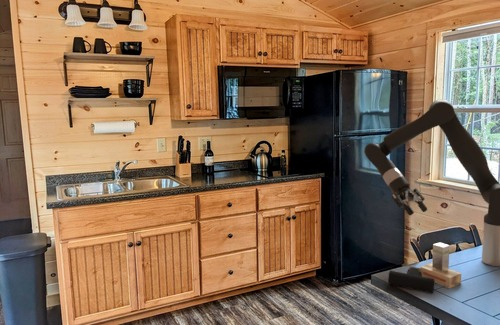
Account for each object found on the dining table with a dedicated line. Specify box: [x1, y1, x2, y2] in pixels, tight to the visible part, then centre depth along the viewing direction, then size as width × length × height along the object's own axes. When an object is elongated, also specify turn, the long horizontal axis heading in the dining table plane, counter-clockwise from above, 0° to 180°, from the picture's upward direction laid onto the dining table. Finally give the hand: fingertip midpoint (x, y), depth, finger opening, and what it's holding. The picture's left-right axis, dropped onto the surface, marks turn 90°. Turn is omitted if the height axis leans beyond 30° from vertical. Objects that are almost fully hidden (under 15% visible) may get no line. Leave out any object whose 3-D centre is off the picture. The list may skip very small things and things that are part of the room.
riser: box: [420, 262, 462, 289], centre depth 145 cm, size 7×12×4 cm, turn 29°
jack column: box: [431, 242, 450, 273], centre depth 144 cm, size 4×4×10 cm
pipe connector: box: [387, 266, 435, 294], centre depth 142 cm, size 12×5×15 cm
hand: (418, 212), depth 153 cm, fingers open, 8 cm apart
